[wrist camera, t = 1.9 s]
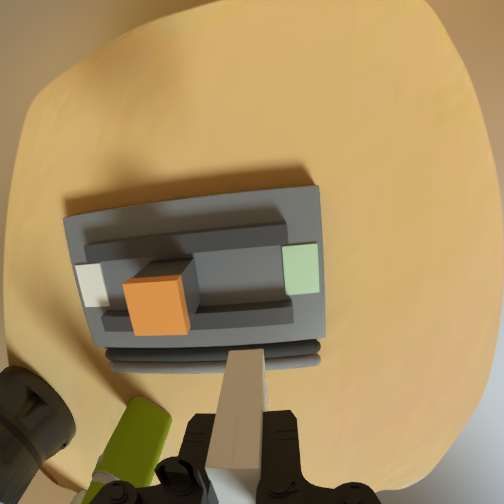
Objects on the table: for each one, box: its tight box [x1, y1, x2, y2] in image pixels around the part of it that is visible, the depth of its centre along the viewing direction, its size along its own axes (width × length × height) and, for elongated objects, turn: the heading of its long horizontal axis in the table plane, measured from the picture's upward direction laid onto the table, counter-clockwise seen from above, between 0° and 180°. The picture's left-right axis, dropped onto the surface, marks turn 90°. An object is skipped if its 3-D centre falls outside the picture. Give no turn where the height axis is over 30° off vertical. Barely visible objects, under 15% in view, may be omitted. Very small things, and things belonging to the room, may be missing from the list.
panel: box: [63, 185, 325, 348], centre depth 29 cm, size 24×14×4 cm, turn 96°
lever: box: [122, 257, 201, 336], centre depth 25 cm, size 4×4×6 cm
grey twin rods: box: [106, 340, 321, 374], centre depth 32 cm, size 23×3×1 cm, turn 96°
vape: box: [81, 396, 172, 504], centre depth 26 cm, size 4×6×20 cm, turn 52°
